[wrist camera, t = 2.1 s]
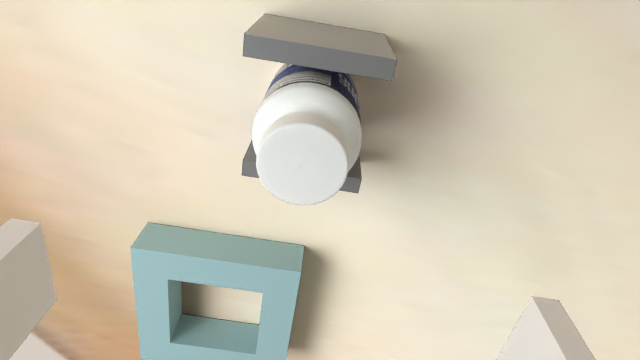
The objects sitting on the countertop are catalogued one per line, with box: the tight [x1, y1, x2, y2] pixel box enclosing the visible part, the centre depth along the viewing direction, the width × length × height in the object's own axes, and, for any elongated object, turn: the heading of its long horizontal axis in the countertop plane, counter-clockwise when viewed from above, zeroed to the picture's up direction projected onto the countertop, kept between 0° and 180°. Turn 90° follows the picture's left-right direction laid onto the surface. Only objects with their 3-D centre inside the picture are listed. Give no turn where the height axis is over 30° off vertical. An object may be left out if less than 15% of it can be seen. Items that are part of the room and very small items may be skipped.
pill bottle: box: [252, 63, 362, 205], centre depth 22 cm, size 5×5×10 cm
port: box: [131, 223, 304, 360], centre depth 33 cm, size 12×12×4 cm
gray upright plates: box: [242, 14, 397, 193], centre depth 24 cm, size 8×7×6 cm
